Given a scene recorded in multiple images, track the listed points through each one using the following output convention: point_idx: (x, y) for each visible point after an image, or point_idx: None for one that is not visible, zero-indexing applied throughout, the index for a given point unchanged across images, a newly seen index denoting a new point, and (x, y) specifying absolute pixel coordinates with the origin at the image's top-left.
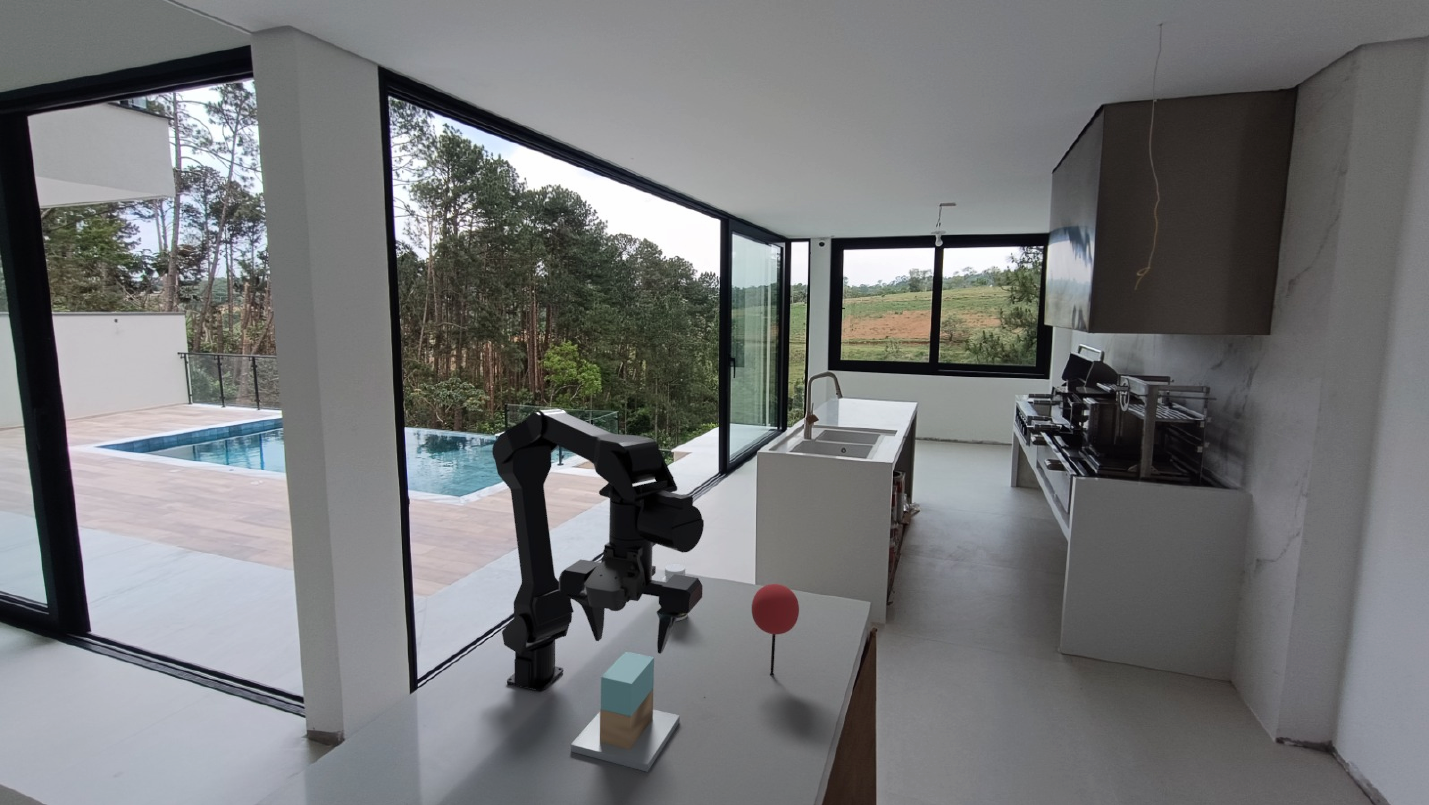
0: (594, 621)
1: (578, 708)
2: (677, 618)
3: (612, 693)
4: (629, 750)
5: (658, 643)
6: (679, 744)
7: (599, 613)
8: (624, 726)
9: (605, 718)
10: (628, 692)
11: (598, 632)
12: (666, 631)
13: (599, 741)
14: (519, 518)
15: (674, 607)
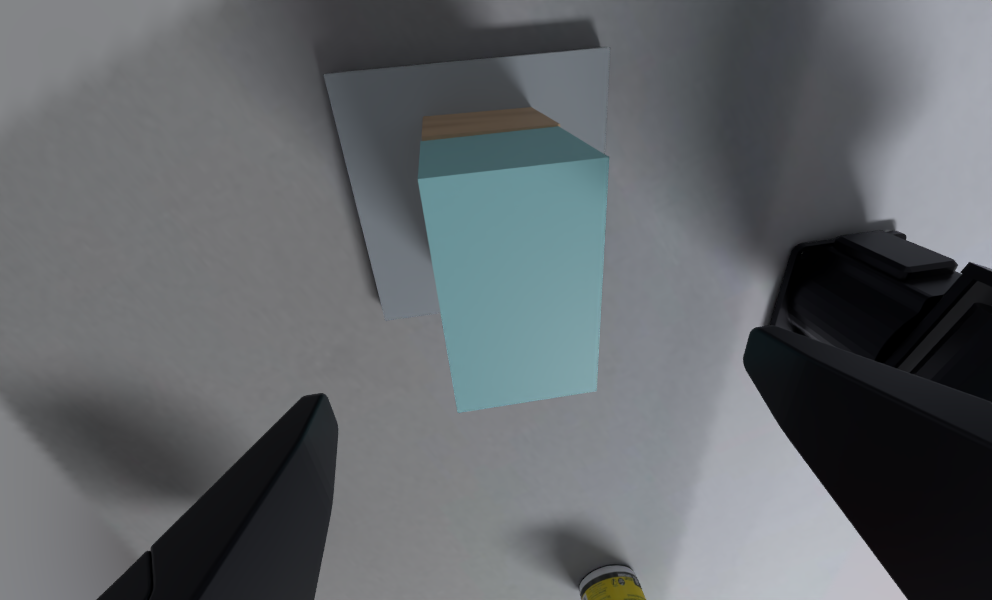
0: (915, 408)
1: (668, 234)
2: (593, 578)
3: (521, 147)
4: (420, 112)
5: (284, 444)
6: (328, 233)
7: (910, 501)
8: (445, 127)
9: (529, 122)
10: (436, 164)
11: (794, 366)
12: (114, 582)
13: (532, 107)
14: None
15: None
